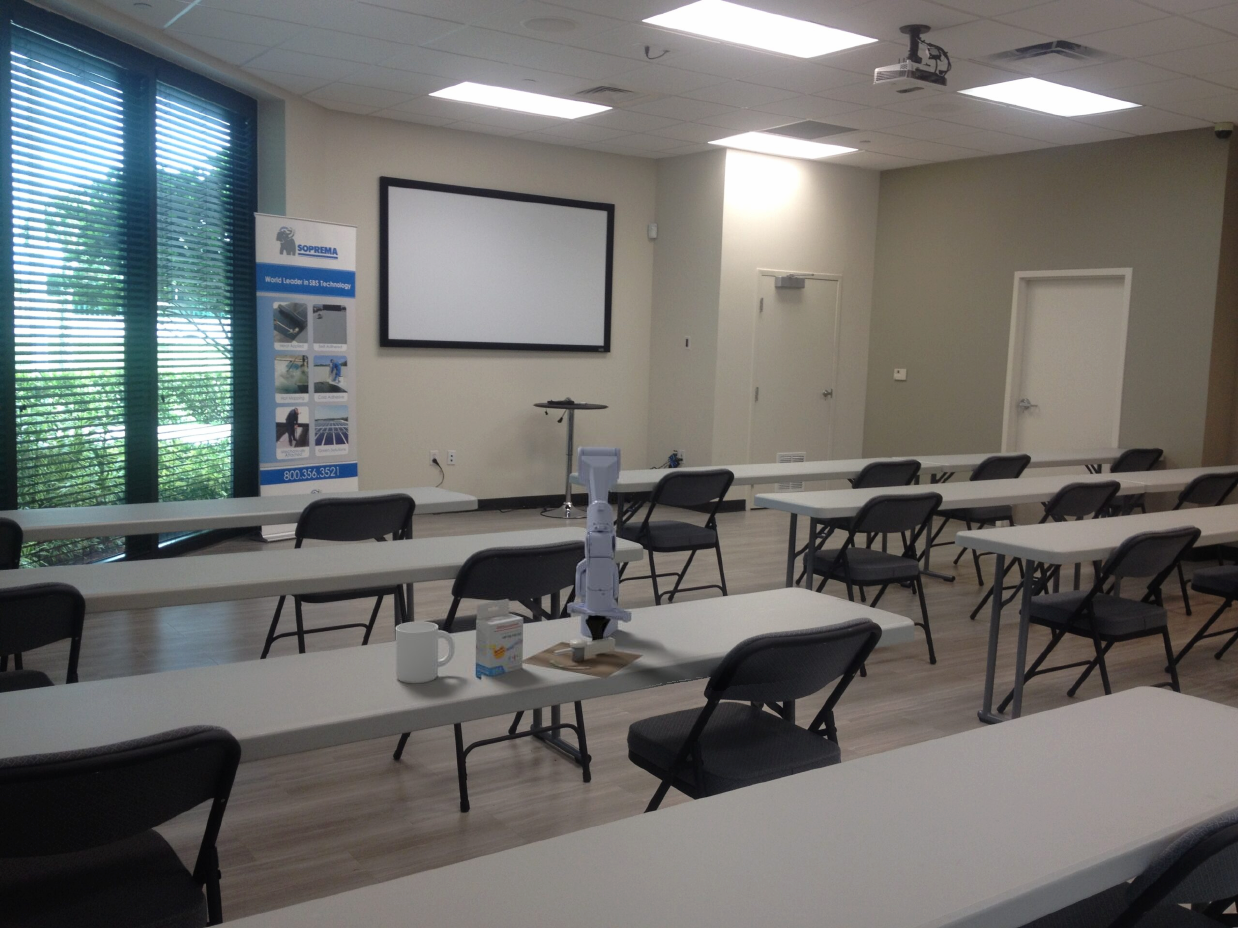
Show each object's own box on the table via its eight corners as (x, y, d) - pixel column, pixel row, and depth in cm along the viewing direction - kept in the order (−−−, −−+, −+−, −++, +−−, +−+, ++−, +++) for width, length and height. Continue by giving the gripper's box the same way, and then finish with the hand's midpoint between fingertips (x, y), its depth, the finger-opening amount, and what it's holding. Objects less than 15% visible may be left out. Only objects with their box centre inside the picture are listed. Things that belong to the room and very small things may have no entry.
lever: (560, 667, 201) (560, 647, 200) (550, 662, 203) (550, 643, 203) (617, 655, 210) (617, 636, 209) (607, 651, 213) (607, 633, 212)
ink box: (490, 682, 194) (490, 609, 193) (474, 676, 198) (475, 604, 196) (523, 673, 200) (524, 602, 199) (508, 667, 204) (508, 597, 202)
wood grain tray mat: (561, 647, 220) (561, 640, 219) (643, 660, 211) (643, 654, 210) (519, 667, 204) (519, 661, 204) (605, 683, 195) (605, 676, 195)
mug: (448, 666, 204) (448, 617, 203) (461, 678, 196) (461, 627, 195) (390, 674, 198) (390, 623, 197) (402, 686, 191) (402, 634, 190)
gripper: (560, 586, 209) (559, 649, 211) (621, 596, 203) (619, 660, 204) (576, 580, 216) (575, 640, 217) (636, 589, 209) (634, 651, 211)
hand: (598, 649), depth 211 cm, fingers closed, pressing on lever
